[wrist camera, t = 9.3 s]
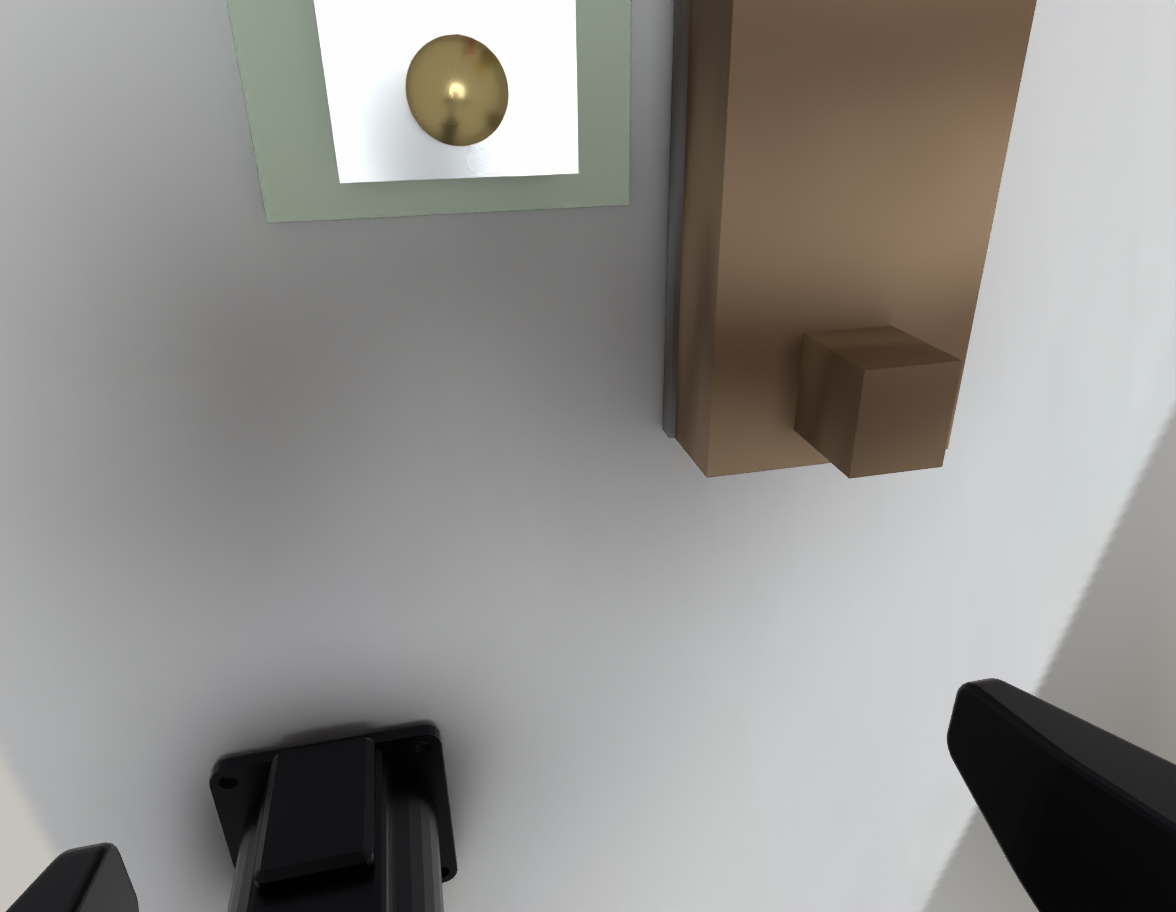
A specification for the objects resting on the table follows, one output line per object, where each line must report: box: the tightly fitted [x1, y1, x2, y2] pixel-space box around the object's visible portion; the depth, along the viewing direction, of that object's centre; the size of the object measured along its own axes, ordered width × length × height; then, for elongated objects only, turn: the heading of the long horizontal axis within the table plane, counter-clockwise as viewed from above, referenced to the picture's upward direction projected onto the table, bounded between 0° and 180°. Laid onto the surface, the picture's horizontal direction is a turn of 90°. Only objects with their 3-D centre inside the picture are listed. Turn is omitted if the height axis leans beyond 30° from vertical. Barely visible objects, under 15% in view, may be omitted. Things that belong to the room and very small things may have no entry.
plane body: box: [663, 0, 1037, 478], centre depth 16 cm, size 18×7×6 cm, turn 1°
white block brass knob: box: [314, 0, 578, 183], centre depth 15 cm, size 6×4×3 cm
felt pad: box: [227, 0, 631, 223], centre depth 16 cm, size 8×8×1 cm
